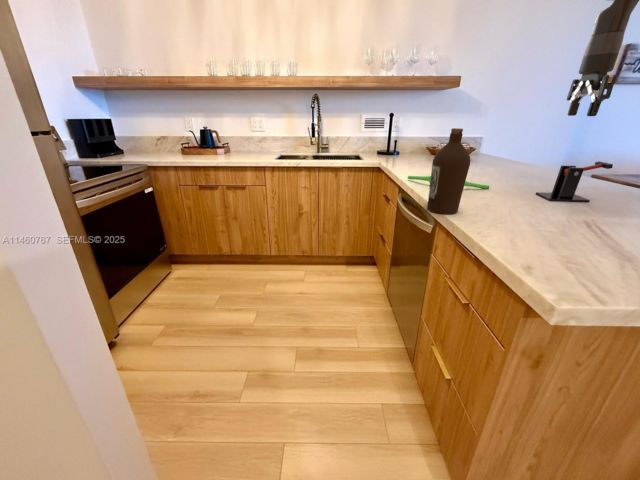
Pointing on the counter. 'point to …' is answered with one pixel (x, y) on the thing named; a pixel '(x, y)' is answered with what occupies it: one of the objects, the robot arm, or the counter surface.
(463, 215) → the counter surface
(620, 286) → the counter surface
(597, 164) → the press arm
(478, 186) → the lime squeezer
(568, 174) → the bracket
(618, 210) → the counter surface
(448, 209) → the olive oil
